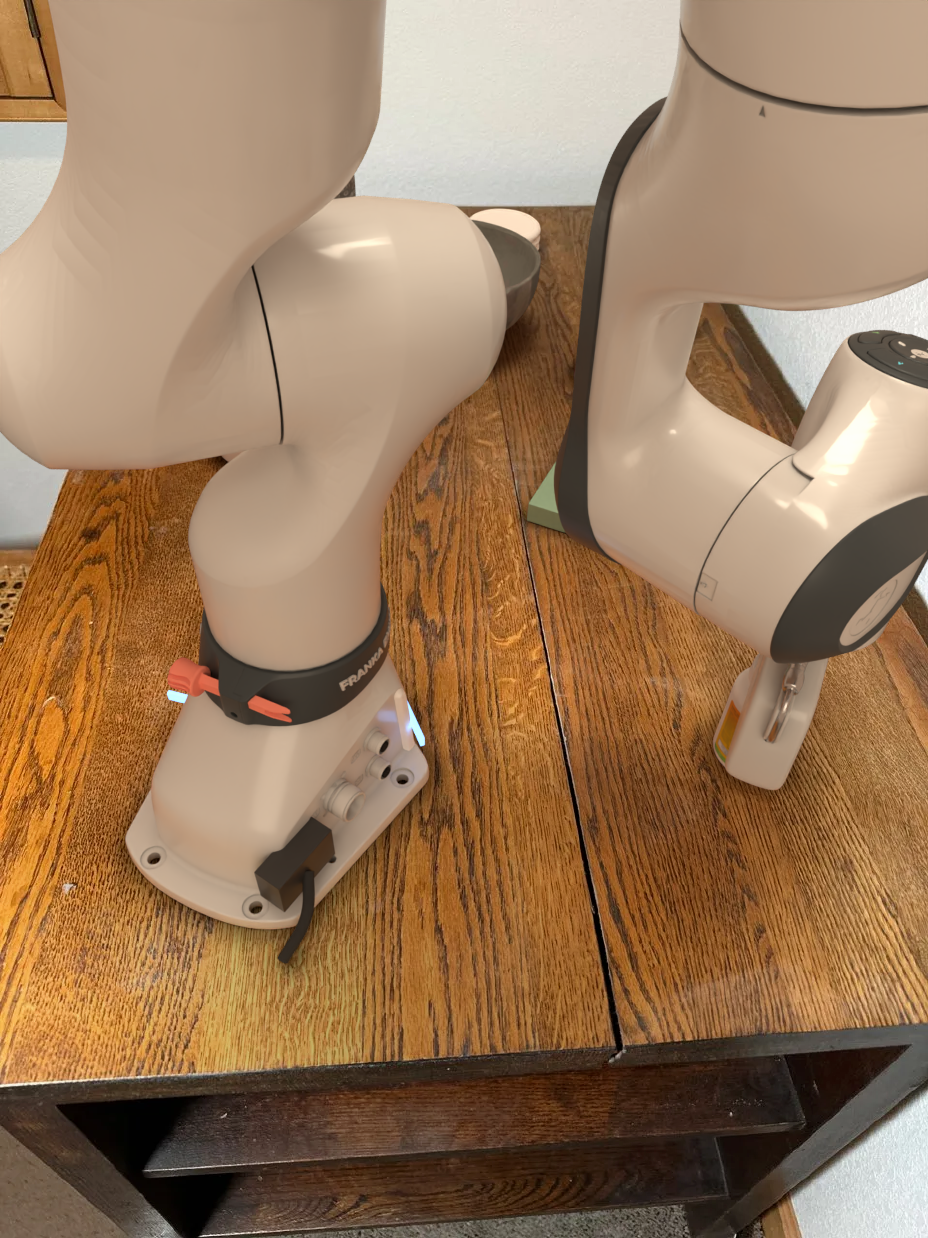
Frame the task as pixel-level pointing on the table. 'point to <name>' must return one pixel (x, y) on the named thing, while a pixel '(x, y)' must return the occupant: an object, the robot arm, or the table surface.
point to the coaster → (512, 222)
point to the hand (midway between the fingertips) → (763, 718)
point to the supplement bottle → (732, 713)
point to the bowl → (514, 267)
